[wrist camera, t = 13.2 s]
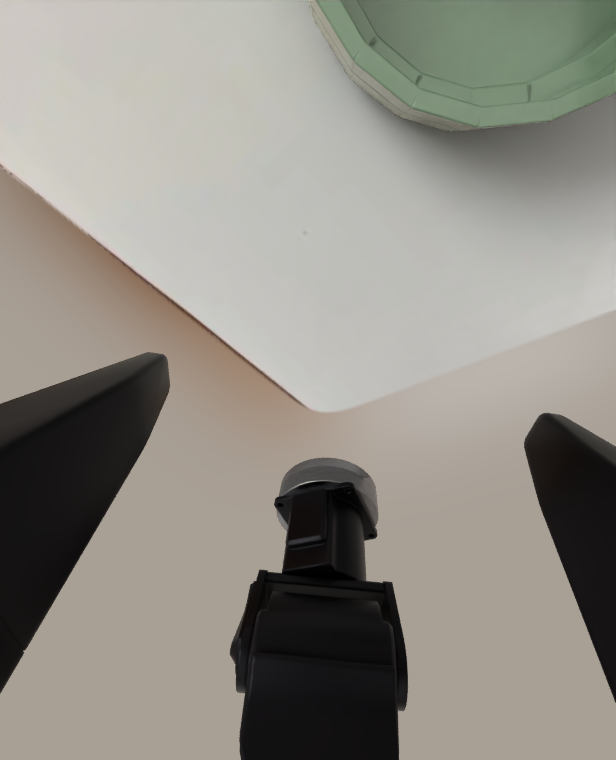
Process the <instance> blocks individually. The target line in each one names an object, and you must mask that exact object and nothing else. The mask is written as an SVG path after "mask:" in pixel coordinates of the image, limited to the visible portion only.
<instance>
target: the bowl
mask: <svg viewBox="0 0 616 760" xmlns="http://www.w3.org/2000/svg"><path fill="white" fill-rule="evenodd" d="M308 2H309V6H310V9H311V12H312V16H313V18H314V20H315V23H316V24H317V26H318V28H319V29H320V31H321V32H322V34H323V36H324V37H325V39H326V40H327V42H328V43H329V45H330V47H331V48H332V50H333V51H334V53H335V55H336V56H337V58H338V59H339V61H340V63H341V64H342V66H343V67H344V69H345V71H346V72H347V74H348V75H349V77H350V78H351V79H352V80H353V81H354V82H355V83H356V84H357V85H359V86H360V87H361V88H362V89H364V90H365V91H366V92H367V93H369V94H370V95H371V96H372V97H374V98H375V99H376V100H377V101H379V102H380V103H381V104H382V105H384V106H385V107H386V108H387V109H389V110H390V111H391V112H392V113H394V114H395V115H398V116H399V117H401V118H405V119H408V120H411V121H415V122H418V123H422V124H425V125H428V126H432V127H435V128H439V129H442V130H445V131H452V132H456V131H466V130H477V129H487V128H497V127H508V126H516V125H524V124H533V123H541V122H549V121H551V120H555V119H558V118H560V117H562V116H564V115H567V114H569V113H571V112H574V111H576V110H578V109H581V108H583V107H585V106H588V105H590V104H592V103H595V102H597V101H599V100H602V99H604V98H606V97H609V96H611V95H613V94H615V93H616V0H308Z"/></svg>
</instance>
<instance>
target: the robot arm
mask: <svg viewBox="0 0 616 760" xmlns="http://www.w3.org/2000/svg"><path fill="white" fill-rule="evenodd" d="M168 371H169V370H168V361H167V357H166V356H165V355H163V354H158V353H151V352H147V353H144V354H141V355H138V356H136V357H133V358H130V359H127V360H124V361H121V362H118V363H116V364H113V365H110V366H107V367H104V368H101V369H98V370H96V371H93V372H90V373H87V374H84V375H81V376H78V377H76V378H73V379H70V380H67V381H64V382H62V383H59V384H56V385H53V386H50V387H47V388H44V389H41V390H39V391H36V392H33V393H30V394H27V395H24V396H22V397H19V398H16V399H13V400H10V401H8V402H5V403H2V404H0V693H1V691H2V690H3V688H4V686H5V685H6V683H7V681H8V680H9V678H10V676H11V675H12V673H13V671H14V669H15V668H16V666H17V664H18V663H19V661H20V659H21V657H22V656H23V654H24V652H23V651H24V650H26V648H27V647H28V645H29V643H30V642H31V640H32V638H33V636H34V635H35V632H36V631H37V630H38V628H39V626H40V625H41V623H42V621H43V619H44V618H45V616H46V614H47V613H48V611H49V609H50V607H51V606H52V604H53V602H54V600H55V599H56V597H57V595H58V594H59V592H60V590H61V588H62V587H63V585H64V584H65V582H66V580H67V578H68V577H69V575H70V573H71V572H72V570H73V568H74V566H75V565H76V563H77V561H78V560H79V558H80V556H81V554H82V553H83V551H84V549H85V548H86V546H87V544H88V543H89V541H90V539H91V538H92V536H93V534H94V532H95V531H96V529H97V527H98V526H99V524H100V522H101V520H102V519H103V517H104V515H105V514H106V512H107V510H108V509H109V507H110V505H111V504H112V502H113V500H114V498H115V497H116V495H117V493H118V492H119V490H120V488H121V486H122V485H123V483H124V481H125V479H126V478H127V476H128V475H129V473H130V471H131V469H132V468H133V466H134V464H135V463H136V461H137V459H138V457H139V456H140V454H141V452H142V451H143V449H144V447H145V445H146V443H147V441H148V439H149V437H150V434H151V432H152V430H153V427H154V425H155V423H156V421H157V418H158V416H159V413H160V411H161V409H162V407H163V404H164V402H165V400H166V397H167V395H168V393H169V388H170V380H169V372H168ZM524 448H525V452H526V456H527V459H528V464H529V467H530V471H531V475H532V479H533V483H534V486H535V490H536V494H537V497H538V501H539V504H540V507H541V510H542V513H543V515H544V518H545V520H546V523H547V526H548V528H549V531H550V534H551V536H552V539H553V541H554V544H555V547H556V549H557V552H558V554H559V557H560V560H561V562H562V565H563V567H564V570H565V572H566V575H567V578H568V580H569V583H570V585H571V588H572V591H573V593H574V596H575V599H576V601H577V603H578V606H579V609H580V611H581V614H582V617H583V619H584V622H585V624H586V627H587V629H588V632H589V635H590V637H591V640H592V643H593V645H594V648H595V650H596V653H597V656H598V658H599V661H600V663H601V666H602V669H603V671H604V674H605V676H606V679H607V682H608V684H609V687H610V689H611V692H612V694H613V697H614V700H615V702H616V446H614V445H612V444H610V443H609V442H607V441H605V440H604V439H602V438H600V437H598V436H597V435H595V434H593V433H592V432H590V431H588V430H586V429H585V428H583V427H581V426H580V425H578V424H576V423H574V422H573V421H571V420H569V419H568V418H566V417H564V416H562V415H557V414H551V413H543V414H541V415H540V416H539V417H538V418H537V420H536V422H535V423H534V425H533V427H532V428H531V430H530V431H529V433H528V435H527V437H526V438H525V442H524ZM347 488H350V489H347ZM274 505H275V507H276V509H277V510H278V512H279V513H280V515H281V516H282V518H283V519H284V521H285V522H286V524H287V525H288V529H287V536H286V548H285V555H284V561H283V569H282V573H273V572H268V571H267V570H259V573H258V577H257V581H254V583H252V584H251V585H250V590H249V594H248V599H247V604H246V607H245V611H244V614H243V616H242V619H241V621H240V624H239V626H238V629H237V631H236V634H235V636H234V639H233V642H232V644H231V649H230V656H231V657H232V659H233V661H234V663H235V664H236V667H235V670H236V671H235V673H236V691H237V692H239V693H245V698H244V706H243V714H242V721H241V729H240V740H239V741H240V755H241V760H399V739H398V738H399V737H398V710H399V711H404V710H405V707H406V703H407V693H408V673H407V657H406V649H405V643H404V638H403V632H402V628H401V623H400V618H399V614H398V609H397V604H396V599H395V594H394V589H393V584H392V582H386V581H385V582H383V583H380V582H369V581H366V567H365V547H364V541H365V540H370V539H375V538H376V537H377V530H376V528H375V526H374V524H373V522H372V519H371V517H370V515H369V513H368V511H367V509H366V507H365V505H364V503H363V501H362V499H361V497H360V495H359V493H358V491H357V489H356V487H355V485H354V484H353V483H352V482H343V483H339V484H334V485H330V486H325V487H320V488H316V489H311V490H307V491H302V492H298V493H293V494H289V495H284V496H280V497H277V498H276V499H275V503H274Z"/></svg>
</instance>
